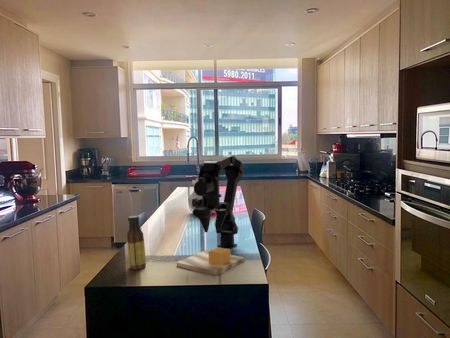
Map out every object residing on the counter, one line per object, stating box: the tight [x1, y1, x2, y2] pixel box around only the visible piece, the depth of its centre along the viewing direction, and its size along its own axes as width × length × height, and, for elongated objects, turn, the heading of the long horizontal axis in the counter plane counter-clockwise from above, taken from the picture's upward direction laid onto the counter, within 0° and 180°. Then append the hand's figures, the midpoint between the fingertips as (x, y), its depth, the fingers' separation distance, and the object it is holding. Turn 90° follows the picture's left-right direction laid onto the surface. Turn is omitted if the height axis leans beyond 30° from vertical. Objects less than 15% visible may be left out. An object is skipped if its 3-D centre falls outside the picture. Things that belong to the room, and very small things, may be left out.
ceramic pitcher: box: [187, 177, 213, 215], centre depth 238 cm, size 22×20×25 cm
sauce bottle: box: [126, 215, 147, 271], centre depth 139 cm, size 7×6×20 cm
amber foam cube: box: [208, 246, 232, 266], centre depth 139 cm, size 6×6×4 cm
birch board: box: [176, 249, 245, 276], centre depth 142 cm, size 18×19×5 cm
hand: (213, 229), depth 150 cm, fingers open, 9 cm apart
